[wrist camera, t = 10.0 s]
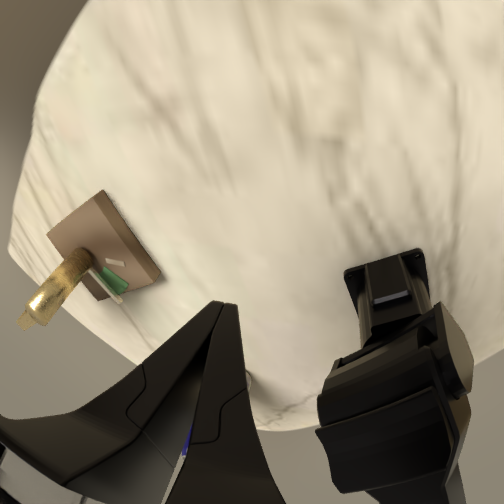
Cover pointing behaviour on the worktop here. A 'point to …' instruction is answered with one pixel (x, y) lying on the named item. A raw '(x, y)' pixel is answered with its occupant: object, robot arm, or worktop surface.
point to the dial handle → (61, 289)
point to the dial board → (105, 247)
